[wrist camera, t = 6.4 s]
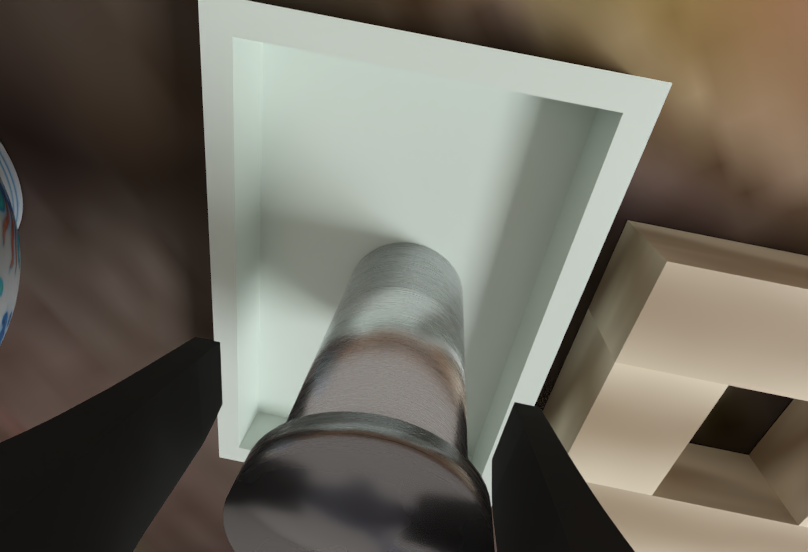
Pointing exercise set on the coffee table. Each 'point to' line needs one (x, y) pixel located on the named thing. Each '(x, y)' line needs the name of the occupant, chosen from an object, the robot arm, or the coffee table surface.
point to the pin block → (690, 392)
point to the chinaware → (9, 239)
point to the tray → (401, 195)
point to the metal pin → (373, 427)
